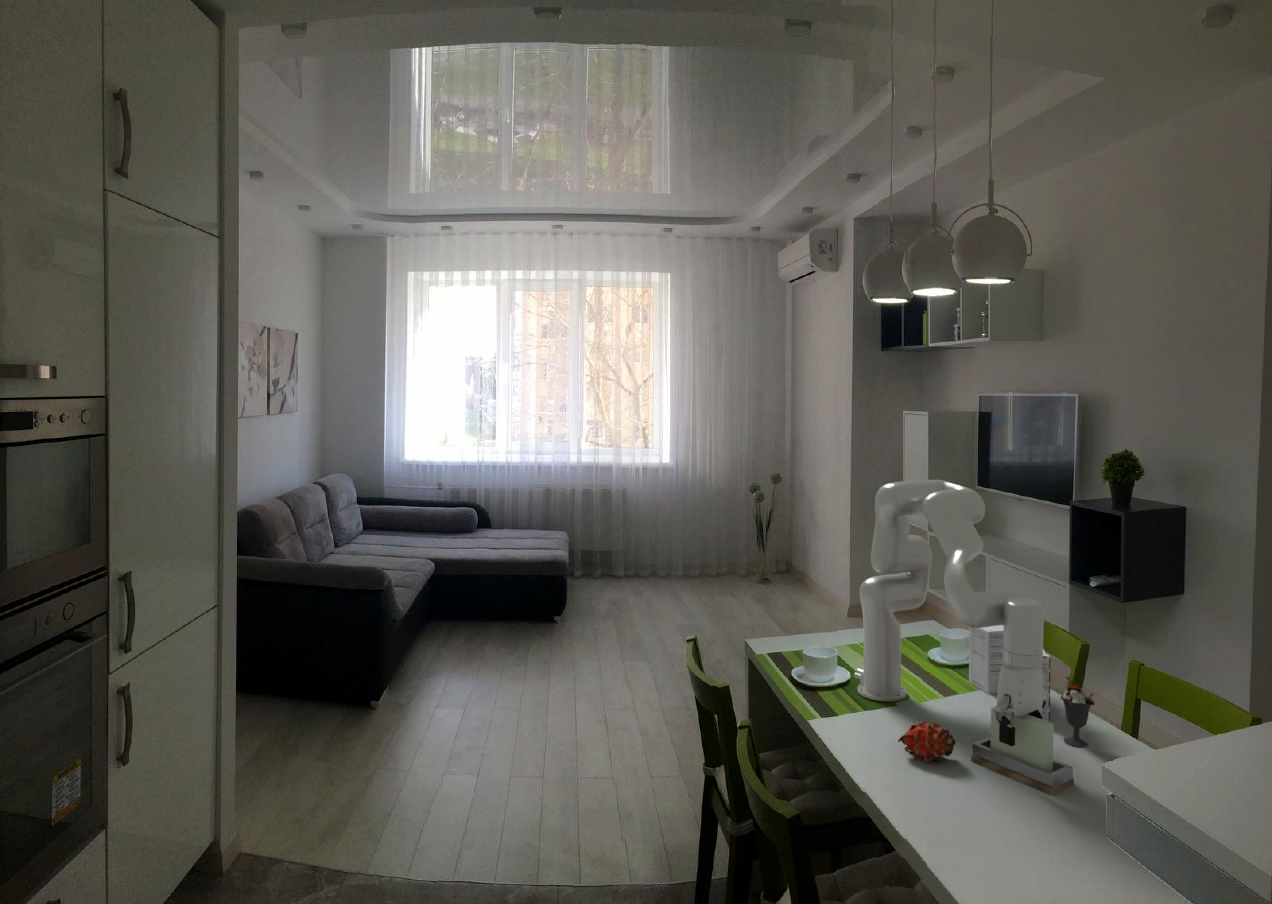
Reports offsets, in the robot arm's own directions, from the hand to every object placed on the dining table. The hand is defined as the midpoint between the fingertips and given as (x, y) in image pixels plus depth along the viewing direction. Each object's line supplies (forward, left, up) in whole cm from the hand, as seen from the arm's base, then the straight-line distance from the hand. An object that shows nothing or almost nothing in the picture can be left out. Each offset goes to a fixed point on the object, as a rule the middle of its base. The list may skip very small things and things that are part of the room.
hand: (1020, 737), depth 168 cm
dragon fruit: (-15, -11, -8) cm, 20 cm away
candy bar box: (-16, +31, -8) cm, 36 cm away
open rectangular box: (0, 0, -7) cm, 7 cm away
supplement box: (-32, +39, -8) cm, 51 cm away
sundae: (-1, +23, -8) cm, 24 cm away
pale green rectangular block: (0, 0, -6) cm, 6 cm away
